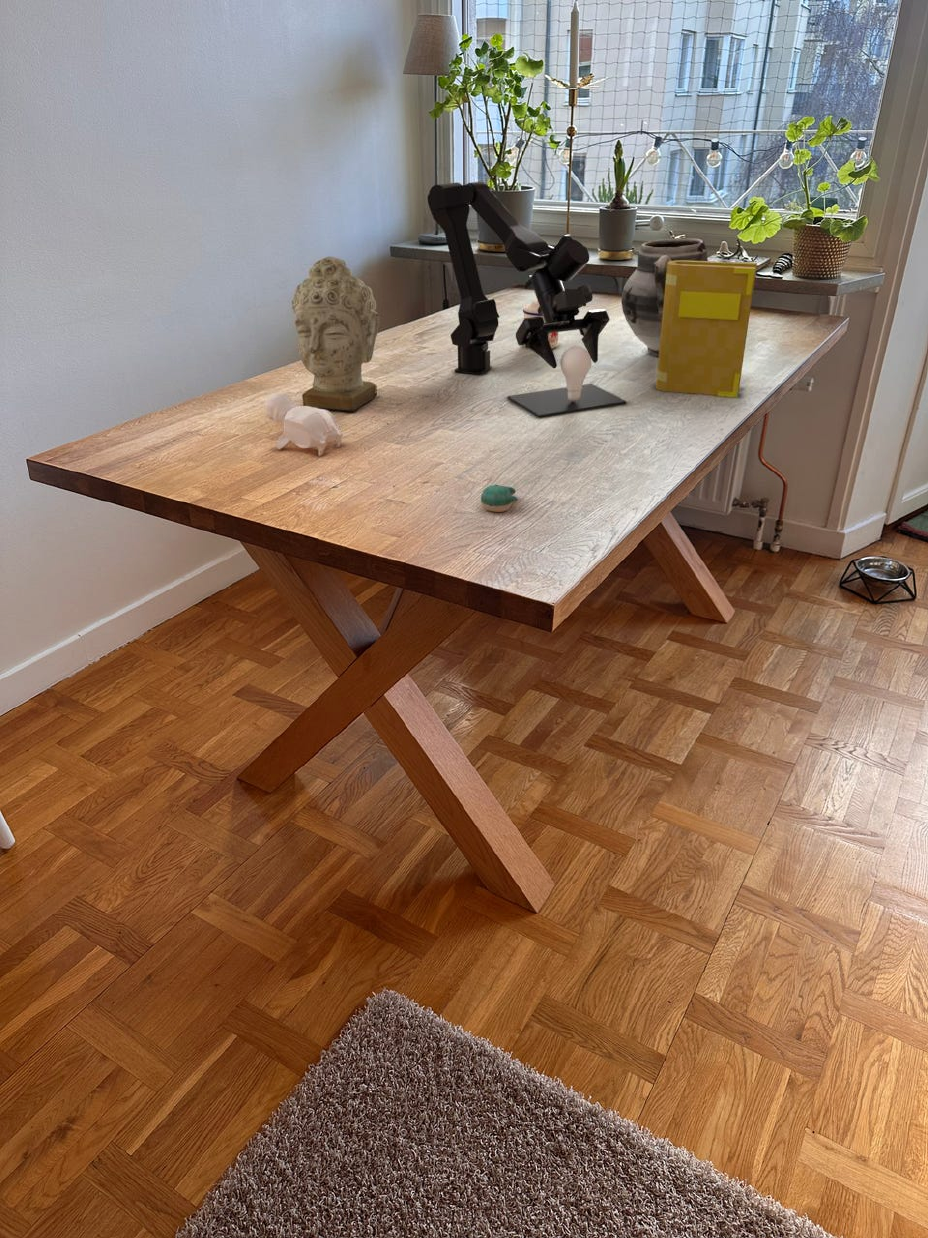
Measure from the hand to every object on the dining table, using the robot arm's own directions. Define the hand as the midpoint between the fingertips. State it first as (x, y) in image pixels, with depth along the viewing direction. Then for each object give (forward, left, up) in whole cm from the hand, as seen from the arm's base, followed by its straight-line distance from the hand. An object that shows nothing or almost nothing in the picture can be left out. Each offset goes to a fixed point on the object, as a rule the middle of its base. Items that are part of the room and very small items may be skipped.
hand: (575, 364), depth 177 cm
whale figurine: (+7, -52, -8) cm, 53 cm away
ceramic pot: (+6, +47, -8) cm, 48 cm away
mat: (-2, +2, -8) cm, 9 cm away
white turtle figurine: (-37, -42, -8) cm, 56 cm away
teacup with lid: (-24, +43, -8) cm, 50 cm away
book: (+20, +20, -8) cm, 30 cm away
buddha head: (-45, -17, -8) cm, 49 cm away
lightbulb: (0, 0, -8) cm, 8 cm away
